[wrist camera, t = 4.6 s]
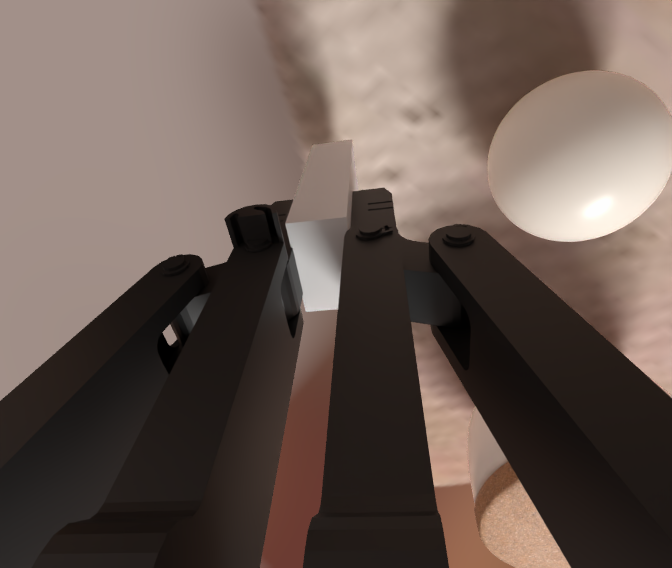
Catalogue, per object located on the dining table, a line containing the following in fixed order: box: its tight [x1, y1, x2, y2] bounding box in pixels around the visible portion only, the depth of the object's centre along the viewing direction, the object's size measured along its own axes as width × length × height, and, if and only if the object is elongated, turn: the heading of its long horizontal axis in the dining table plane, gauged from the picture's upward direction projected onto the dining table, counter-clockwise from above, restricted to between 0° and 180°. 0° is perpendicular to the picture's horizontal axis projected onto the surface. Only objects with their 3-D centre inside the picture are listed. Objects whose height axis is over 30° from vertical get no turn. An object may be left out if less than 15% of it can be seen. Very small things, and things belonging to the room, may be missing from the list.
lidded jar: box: [467, 377, 672, 568], centre depth 20 cm, size 11×11×9 cm
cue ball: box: [487, 70, 672, 242], centre depth 14 cm, size 6×6×6 cm
